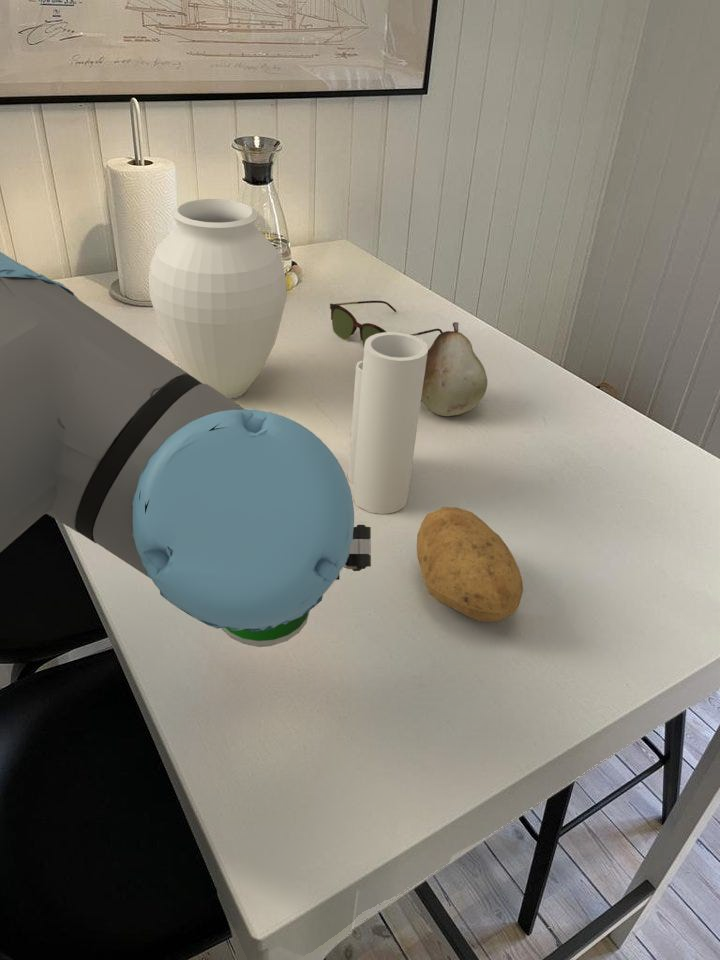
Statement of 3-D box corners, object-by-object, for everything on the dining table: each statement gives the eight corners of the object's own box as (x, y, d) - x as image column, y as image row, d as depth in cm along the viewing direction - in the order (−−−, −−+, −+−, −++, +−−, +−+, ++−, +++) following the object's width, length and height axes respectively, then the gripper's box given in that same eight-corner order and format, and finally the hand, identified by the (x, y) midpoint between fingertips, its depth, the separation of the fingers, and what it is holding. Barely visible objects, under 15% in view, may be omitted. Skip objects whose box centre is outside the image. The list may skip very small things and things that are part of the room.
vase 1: (157, 360, 113) (139, 189, 98) (274, 354, 117) (274, 188, 102) (162, 424, 99) (143, 236, 84) (295, 414, 103) (299, 233, 88)
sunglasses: (326, 329, 125) (329, 301, 122) (389, 315, 134) (393, 288, 131) (386, 364, 117) (390, 334, 114) (448, 346, 126) (454, 317, 123)
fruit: (459, 386, 113) (472, 311, 106) (496, 417, 106) (512, 340, 99) (400, 399, 109) (409, 322, 101) (435, 432, 102) (447, 353, 95)
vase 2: (410, 515, 88) (432, 362, 76) (348, 512, 87) (360, 358, 75) (403, 458, 97) (421, 314, 85) (347, 456, 96) (358, 310, 84)
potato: (453, 660, 71) (466, 601, 66) (392, 562, 81) (399, 505, 76) (540, 634, 74) (558, 576, 69) (470, 543, 84) (482, 487, 80)
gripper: (51, 616, 38) (135, 603, 60) (450, 612, 40) (386, 601, 62) (59, 467, 39) (138, 510, 61) (447, 472, 41) (386, 511, 63)
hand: (263, 556), depth 62 cm, fingers closed on soda can, 7 cm apart
